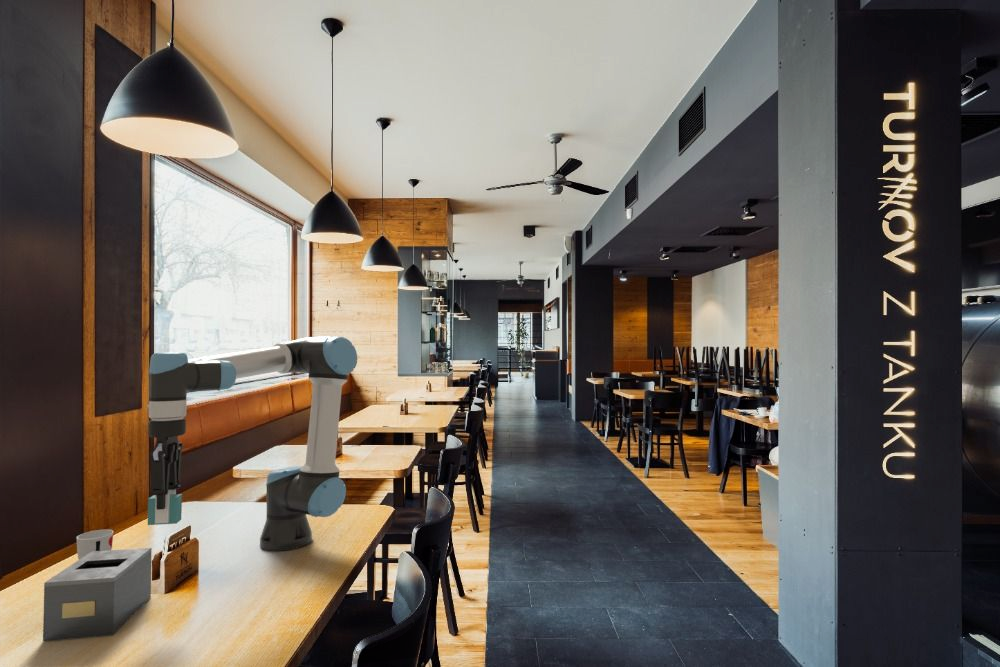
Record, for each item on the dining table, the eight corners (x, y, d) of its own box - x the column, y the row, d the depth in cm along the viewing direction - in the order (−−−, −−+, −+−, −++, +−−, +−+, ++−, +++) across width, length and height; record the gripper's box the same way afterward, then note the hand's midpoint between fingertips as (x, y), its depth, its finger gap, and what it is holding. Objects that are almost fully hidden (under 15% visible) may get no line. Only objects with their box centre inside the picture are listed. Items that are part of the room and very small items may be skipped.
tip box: (150, 597, 133) (151, 547, 133) (112, 635, 115) (113, 577, 115) (90, 602, 130) (91, 551, 131) (42, 642, 112) (43, 583, 113)
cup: (92, 578, 144) (93, 540, 144) (67, 576, 146) (68, 538, 146) (120, 566, 152) (120, 530, 152) (95, 564, 154) (96, 528, 154)
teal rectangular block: (181, 519, 129) (182, 494, 129) (176, 523, 126) (177, 497, 126) (153, 521, 127) (153, 495, 128) (147, 525, 124) (148, 498, 125)
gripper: (163, 415, 134) (161, 511, 134) (134, 423, 119) (131, 532, 118) (196, 414, 136) (194, 509, 135) (171, 422, 120) (169, 530, 119)
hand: (165, 520), depth 126 cm, fingers closed on teal rectangular block, 3 cm apart
